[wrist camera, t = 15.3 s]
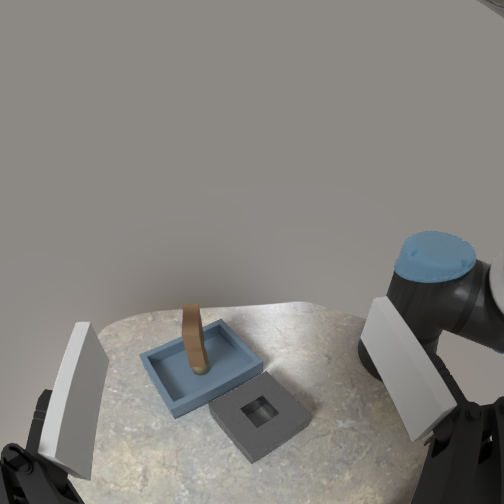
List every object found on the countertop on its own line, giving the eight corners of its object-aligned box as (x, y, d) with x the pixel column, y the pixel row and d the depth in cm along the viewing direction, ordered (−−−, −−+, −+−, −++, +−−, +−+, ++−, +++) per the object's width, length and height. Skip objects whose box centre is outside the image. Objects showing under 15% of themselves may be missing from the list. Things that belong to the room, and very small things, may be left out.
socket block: (265, 383, 42) (266, 370, 41) (308, 425, 35) (312, 415, 34) (210, 414, 37) (208, 403, 35) (251, 464, 30) (252, 457, 29)
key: (192, 355, 46) (181, 304, 40) (209, 354, 47) (200, 303, 41) (193, 384, 41) (179, 335, 35) (210, 382, 42) (201, 333, 36)
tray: (222, 330, 52) (221, 318, 51) (262, 372, 44) (263, 361, 43) (143, 365, 44) (139, 354, 43) (174, 419, 36) (170, 410, 34)
